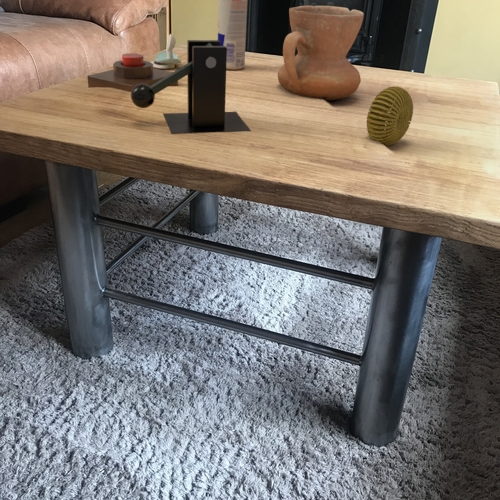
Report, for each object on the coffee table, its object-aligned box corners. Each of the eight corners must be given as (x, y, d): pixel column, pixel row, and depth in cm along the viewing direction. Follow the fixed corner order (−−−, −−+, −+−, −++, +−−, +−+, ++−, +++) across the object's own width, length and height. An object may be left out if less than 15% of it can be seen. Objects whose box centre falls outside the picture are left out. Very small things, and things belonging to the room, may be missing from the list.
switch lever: (140, 115, 75) (127, 95, 74) (138, 108, 78) (125, 88, 76) (223, 65, 75) (212, 43, 73) (218, 60, 77) (207, 39, 76)
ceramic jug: (318, 80, 110) (326, 1, 102) (378, 97, 101) (392, 12, 93) (250, 93, 99) (254, 6, 92) (311, 114, 90) (321, 19, 83)
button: (134, 69, 94) (133, 58, 94) (118, 66, 96) (117, 55, 95) (148, 65, 97) (147, 55, 96) (132, 62, 99) (131, 52, 98)
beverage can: (248, 66, 117) (252, -13, 109) (238, 72, 112) (242, -10, 105) (223, 63, 119) (225, -15, 111) (212, 68, 114) (214, -13, 106)
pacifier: (152, 72, 109) (183, 70, 111) (150, 38, 106) (181, 37, 108) (147, 63, 115) (176, 62, 117) (145, 31, 112) (175, 30, 114)
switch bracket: (171, 142, 75) (169, 50, 69) (163, 121, 83) (160, 37, 77) (250, 138, 78) (255, 50, 72) (235, 119, 85) (238, 37, 79)
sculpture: (388, 135, 83) (398, 79, 78) (412, 142, 80) (423, 85, 76) (356, 146, 77) (365, 88, 73) (381, 154, 75) (392, 95, 71)
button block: (133, 99, 92) (131, 74, 90) (88, 88, 96) (86, 64, 94) (178, 85, 101) (177, 62, 99) (135, 76, 105) (134, 54, 103)
